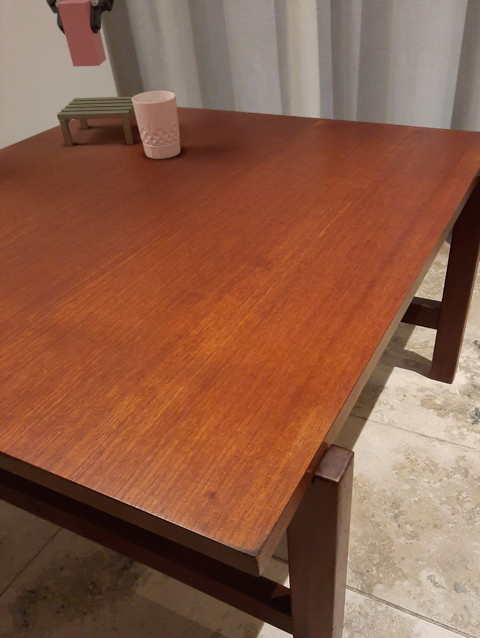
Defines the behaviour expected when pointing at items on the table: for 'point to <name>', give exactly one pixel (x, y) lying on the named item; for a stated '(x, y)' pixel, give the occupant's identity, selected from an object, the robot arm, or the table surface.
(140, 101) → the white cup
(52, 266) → the table surface
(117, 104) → the rack
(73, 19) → the pink box
